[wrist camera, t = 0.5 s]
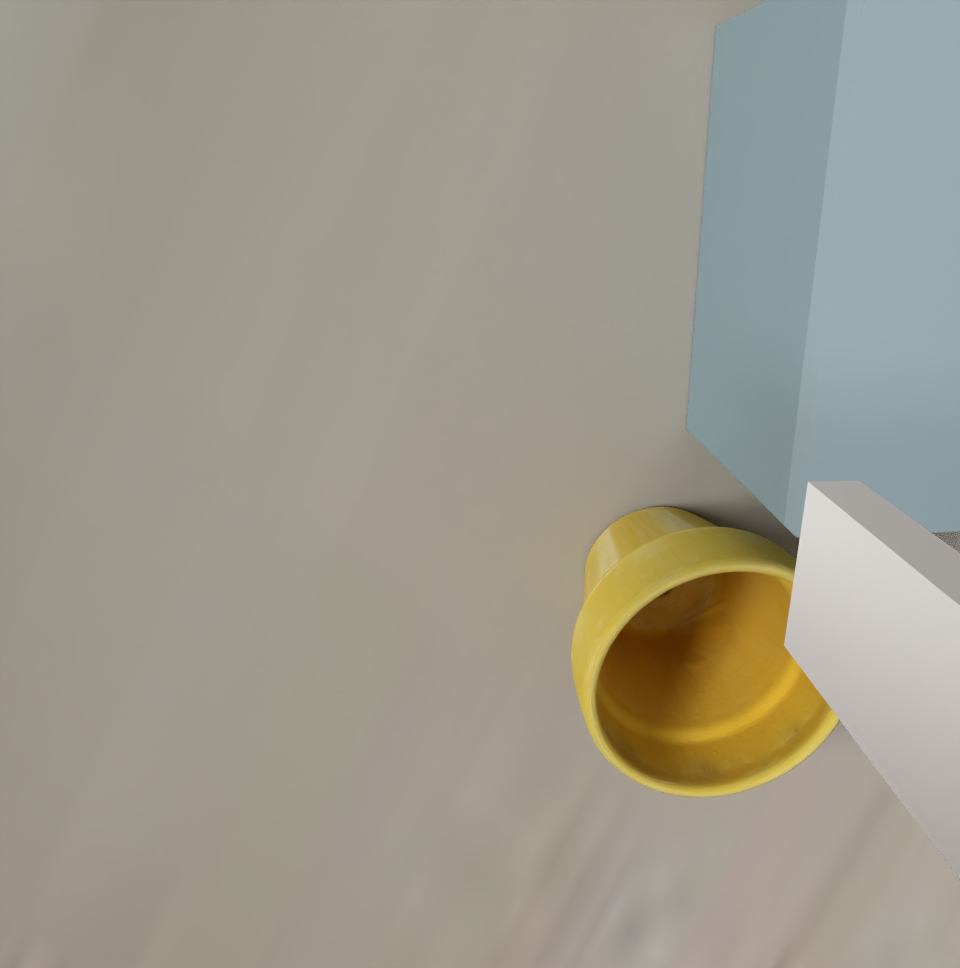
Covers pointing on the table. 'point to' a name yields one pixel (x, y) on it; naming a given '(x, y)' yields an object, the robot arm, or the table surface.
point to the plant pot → (693, 656)
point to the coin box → (833, 255)
